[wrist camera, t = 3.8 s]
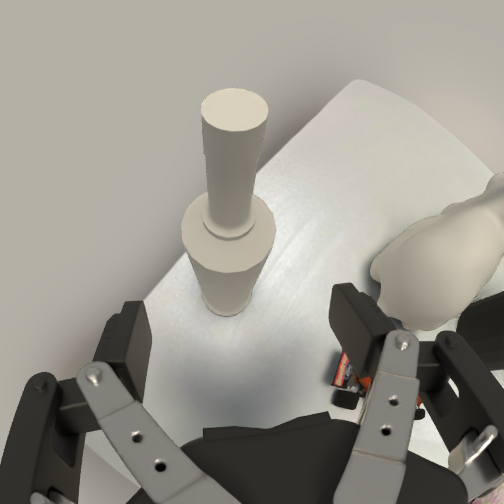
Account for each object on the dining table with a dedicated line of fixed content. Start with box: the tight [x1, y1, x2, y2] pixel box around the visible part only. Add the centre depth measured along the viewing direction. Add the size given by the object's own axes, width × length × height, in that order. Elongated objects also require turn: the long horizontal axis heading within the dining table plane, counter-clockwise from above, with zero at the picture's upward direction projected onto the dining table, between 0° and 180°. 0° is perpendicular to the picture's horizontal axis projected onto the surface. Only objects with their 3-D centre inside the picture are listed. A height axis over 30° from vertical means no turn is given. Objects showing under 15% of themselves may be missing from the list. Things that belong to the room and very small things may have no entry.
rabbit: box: [370, 173, 504, 331], centre depth 23 cm, size 12×21×25 cm, turn 122°
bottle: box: [181, 88, 276, 316], centre depth 20 cm, size 5×5×25 cm
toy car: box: [331, 349, 425, 420], centre depth 27 cm, size 8×16×4 cm, turn 71°
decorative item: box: [472, 483, 504, 504], centre depth 19 cm, size 9×11×10 cm
